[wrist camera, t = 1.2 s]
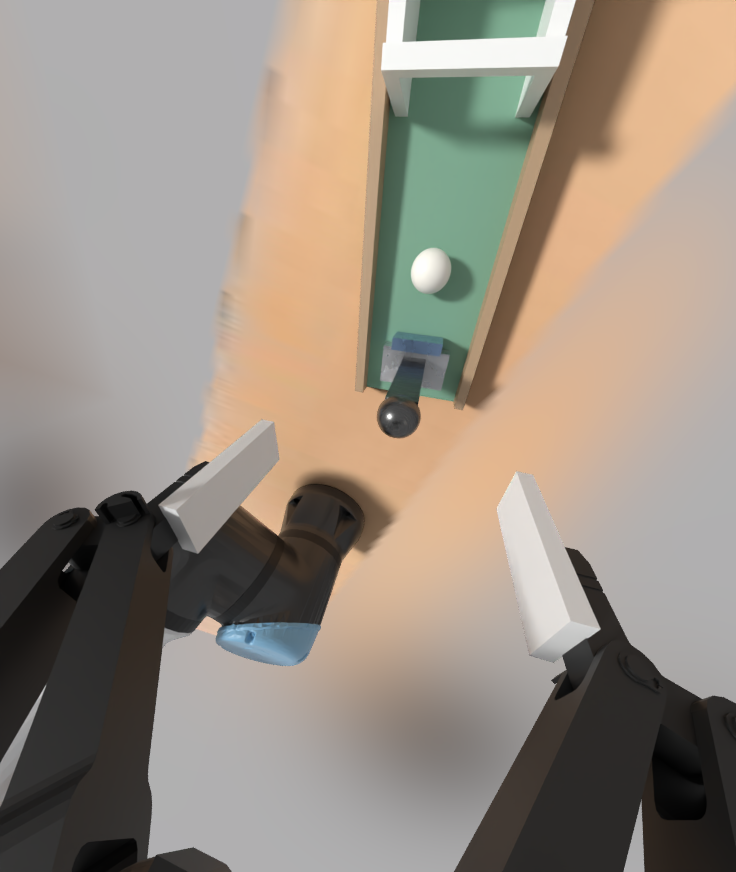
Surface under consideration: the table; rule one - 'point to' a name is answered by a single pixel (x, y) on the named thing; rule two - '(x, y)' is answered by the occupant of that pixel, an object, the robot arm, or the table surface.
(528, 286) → the table surface
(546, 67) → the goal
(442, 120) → the pitch
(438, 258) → the ball
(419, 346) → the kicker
